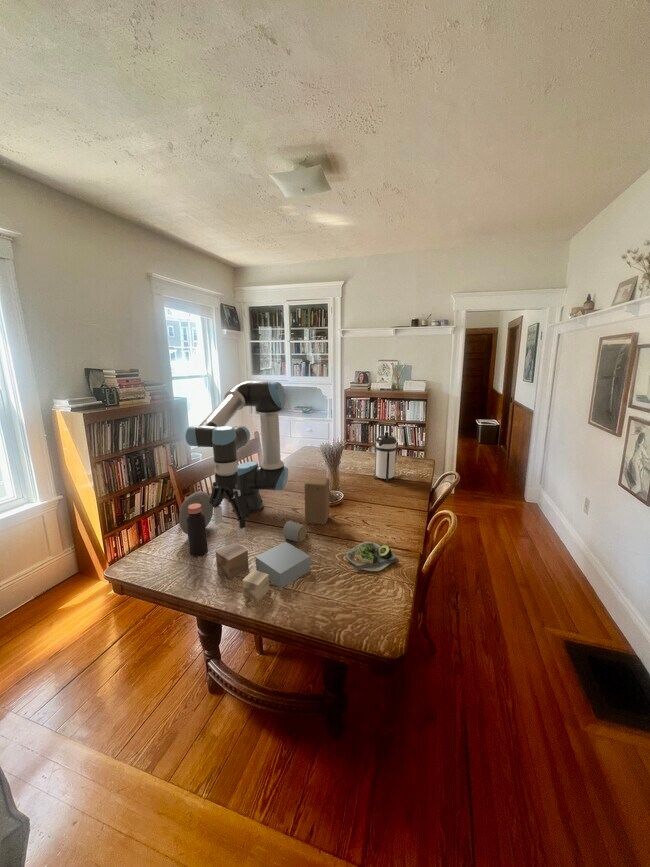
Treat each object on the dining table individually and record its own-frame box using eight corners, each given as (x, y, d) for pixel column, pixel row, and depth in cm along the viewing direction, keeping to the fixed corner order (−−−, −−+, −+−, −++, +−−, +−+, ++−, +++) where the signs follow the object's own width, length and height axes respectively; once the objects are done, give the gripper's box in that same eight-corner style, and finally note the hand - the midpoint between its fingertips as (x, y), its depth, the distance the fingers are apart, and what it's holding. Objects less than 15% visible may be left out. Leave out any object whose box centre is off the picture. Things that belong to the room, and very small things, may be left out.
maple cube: (243, 595, 112) (242, 579, 110) (254, 584, 117) (253, 569, 116) (258, 601, 109) (257, 585, 108) (269, 589, 114) (268, 574, 113)
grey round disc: (207, 521, 160) (204, 484, 155) (219, 524, 157) (216, 486, 153) (176, 541, 143) (171, 499, 139) (188, 544, 141) (184, 503, 136)
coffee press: (400, 482, 208) (403, 435, 201) (374, 482, 208) (376, 434, 201) (395, 472, 225) (397, 428, 218) (370, 472, 225) (372, 428, 218)
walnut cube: (217, 571, 124) (215, 551, 122) (235, 561, 130) (234, 542, 128) (230, 580, 119) (228, 560, 117) (248, 569, 125) (247, 550, 123)
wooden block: (325, 525, 156) (325, 485, 152) (304, 523, 158) (304, 483, 154) (329, 515, 166) (329, 477, 161) (309, 513, 168) (309, 475, 163)
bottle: (211, 548, 138) (207, 503, 133) (201, 558, 132) (197, 510, 127) (196, 546, 139) (191, 501, 135) (186, 555, 133) (181, 508, 128)
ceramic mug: (299, 546, 140) (298, 529, 138) (282, 541, 144) (281, 524, 142) (311, 534, 149) (311, 518, 148) (295, 530, 153) (295, 514, 151)
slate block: (256, 571, 124) (255, 556, 123) (285, 555, 134) (285, 541, 133) (280, 589, 115) (280, 573, 114) (310, 570, 125) (310, 556, 124)
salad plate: (371, 583, 118) (371, 572, 117) (335, 561, 131) (335, 550, 130) (403, 561, 131) (404, 550, 130) (367, 542, 144) (368, 532, 142)
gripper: (196, 467, 121) (201, 522, 125) (239, 484, 105) (242, 546, 110) (215, 462, 126) (218, 515, 131) (258, 477, 111) (260, 537, 115)
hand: (229, 529), depth 120 cm, fingers open, 13 cm apart
